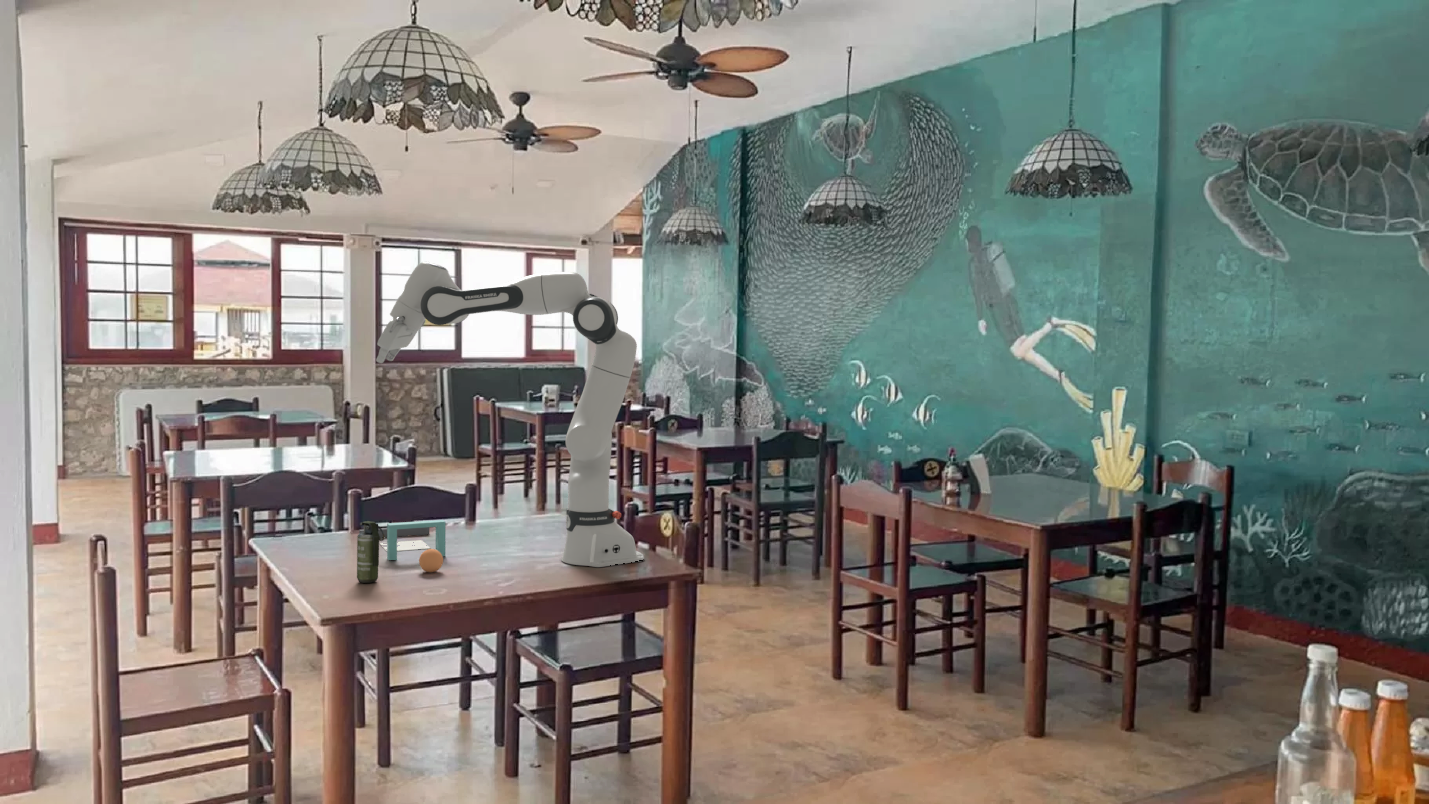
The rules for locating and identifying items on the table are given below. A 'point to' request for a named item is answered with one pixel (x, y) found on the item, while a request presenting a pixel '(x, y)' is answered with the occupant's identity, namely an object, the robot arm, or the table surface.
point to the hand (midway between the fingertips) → (384, 361)
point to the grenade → (368, 552)
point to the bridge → (393, 527)
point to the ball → (431, 560)
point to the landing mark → (409, 545)
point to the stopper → (404, 531)
